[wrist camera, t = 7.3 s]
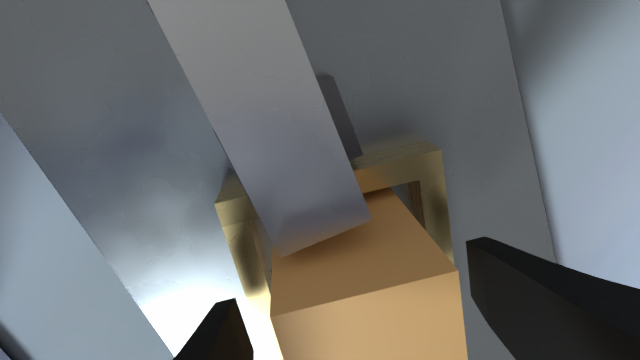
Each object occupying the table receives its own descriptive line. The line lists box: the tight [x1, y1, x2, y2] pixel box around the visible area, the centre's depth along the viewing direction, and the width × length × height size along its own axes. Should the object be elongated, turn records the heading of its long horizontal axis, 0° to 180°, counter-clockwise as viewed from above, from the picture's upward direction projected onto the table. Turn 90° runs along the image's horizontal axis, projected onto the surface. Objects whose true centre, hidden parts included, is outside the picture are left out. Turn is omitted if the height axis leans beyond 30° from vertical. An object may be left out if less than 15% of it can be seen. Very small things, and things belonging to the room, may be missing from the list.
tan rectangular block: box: [270, 187, 468, 360], centre depth 11 cm, size 4×4×6 cm
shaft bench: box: [0, 0, 556, 360], centre depth 12 cm, size 15×26×5 cm, turn 22°
